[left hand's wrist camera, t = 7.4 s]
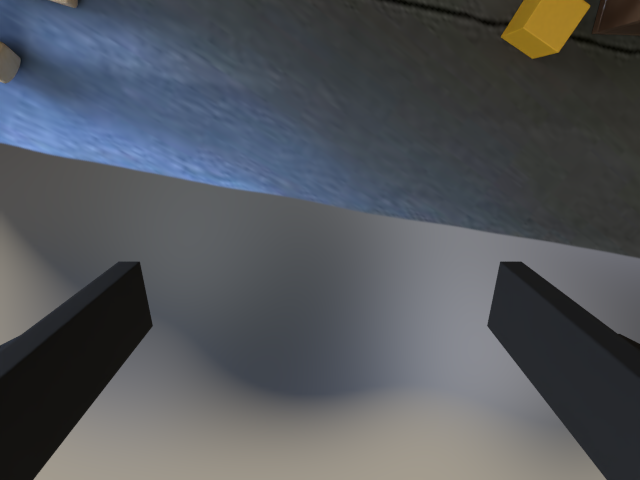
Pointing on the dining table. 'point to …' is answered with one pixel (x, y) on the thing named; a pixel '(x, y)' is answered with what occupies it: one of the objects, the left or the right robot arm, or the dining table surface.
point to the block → (544, 25)
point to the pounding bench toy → (5, 63)
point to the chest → (618, 17)
